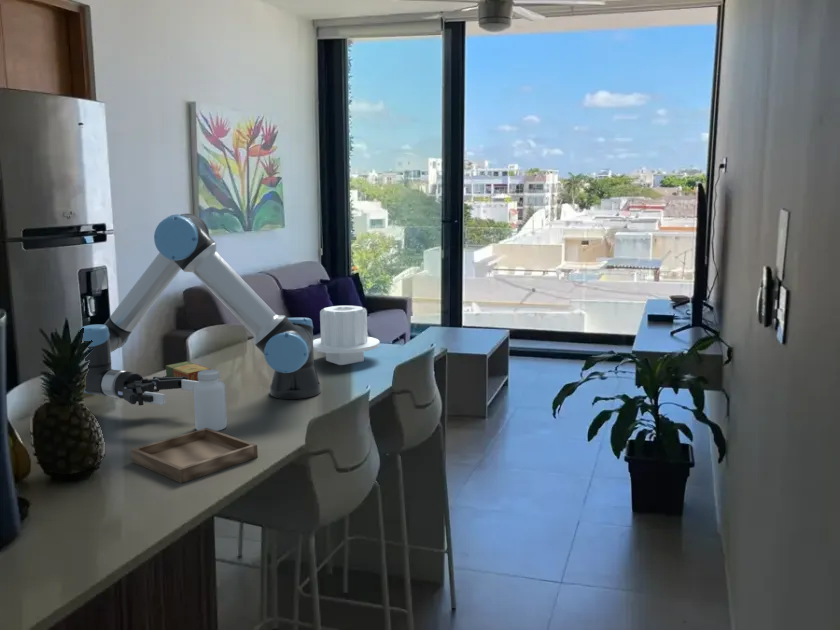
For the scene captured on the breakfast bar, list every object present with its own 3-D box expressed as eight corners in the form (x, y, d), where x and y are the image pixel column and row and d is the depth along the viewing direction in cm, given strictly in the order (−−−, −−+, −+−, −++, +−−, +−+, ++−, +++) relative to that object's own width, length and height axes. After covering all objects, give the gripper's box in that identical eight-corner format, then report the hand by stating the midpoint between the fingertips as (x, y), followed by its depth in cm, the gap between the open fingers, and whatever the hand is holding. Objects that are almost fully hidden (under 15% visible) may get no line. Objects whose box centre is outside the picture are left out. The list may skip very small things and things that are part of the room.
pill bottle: (215, 434, 192) (212, 376, 190) (189, 431, 195) (185, 374, 192) (233, 424, 200) (230, 369, 197) (207, 422, 202) (203, 367, 200)
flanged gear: (354, 350, 289) (353, 301, 286) (393, 361, 270) (392, 309, 266) (296, 360, 273) (294, 308, 270) (333, 372, 254) (332, 317, 251)
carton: (188, 385, 241) (187, 372, 240) (165, 377, 252) (164, 364, 252) (212, 381, 247) (211, 368, 246) (188, 372, 258) (188, 360, 257)
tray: (207, 439, 188) (206, 427, 188) (257, 457, 176) (257, 444, 175) (132, 461, 173) (131, 449, 173) (181, 483, 160) (180, 469, 160)
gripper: (158, 387, 220) (215, 395, 211) (87, 410, 198) (148, 420, 189) (156, 361, 219) (214, 368, 210) (85, 382, 197) (146, 390, 188)
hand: (183, 393), depth 199 cm, fingers open, 13 cm apart
